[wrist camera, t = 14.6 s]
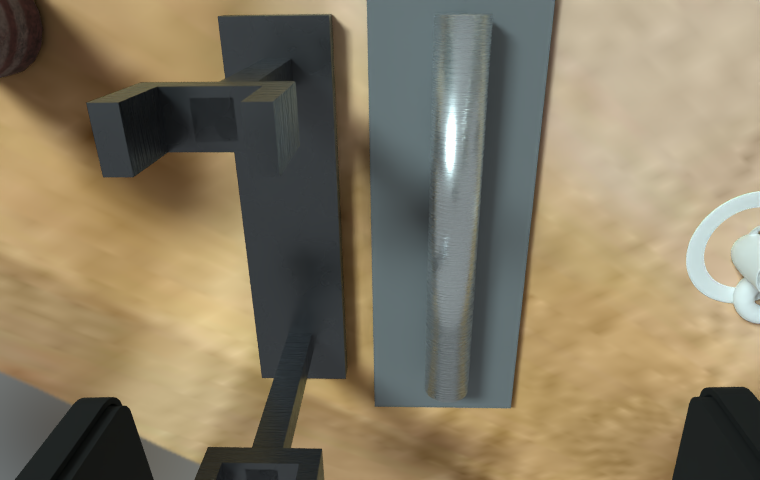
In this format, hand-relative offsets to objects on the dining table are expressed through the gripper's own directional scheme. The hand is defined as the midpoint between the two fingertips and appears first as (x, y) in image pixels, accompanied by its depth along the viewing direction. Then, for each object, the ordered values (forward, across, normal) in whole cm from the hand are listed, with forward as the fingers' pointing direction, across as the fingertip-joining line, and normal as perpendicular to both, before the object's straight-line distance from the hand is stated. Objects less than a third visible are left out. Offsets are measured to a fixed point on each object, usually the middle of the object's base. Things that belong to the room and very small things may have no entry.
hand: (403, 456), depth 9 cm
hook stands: (+26, +8, +6) cm, 28 cm away
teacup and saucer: (+27, -19, +12) cm, 35 cm away
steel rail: (+24, -2, +7) cm, 25 cm away
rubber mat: (+26, -2, +7) cm, 27 cm away
